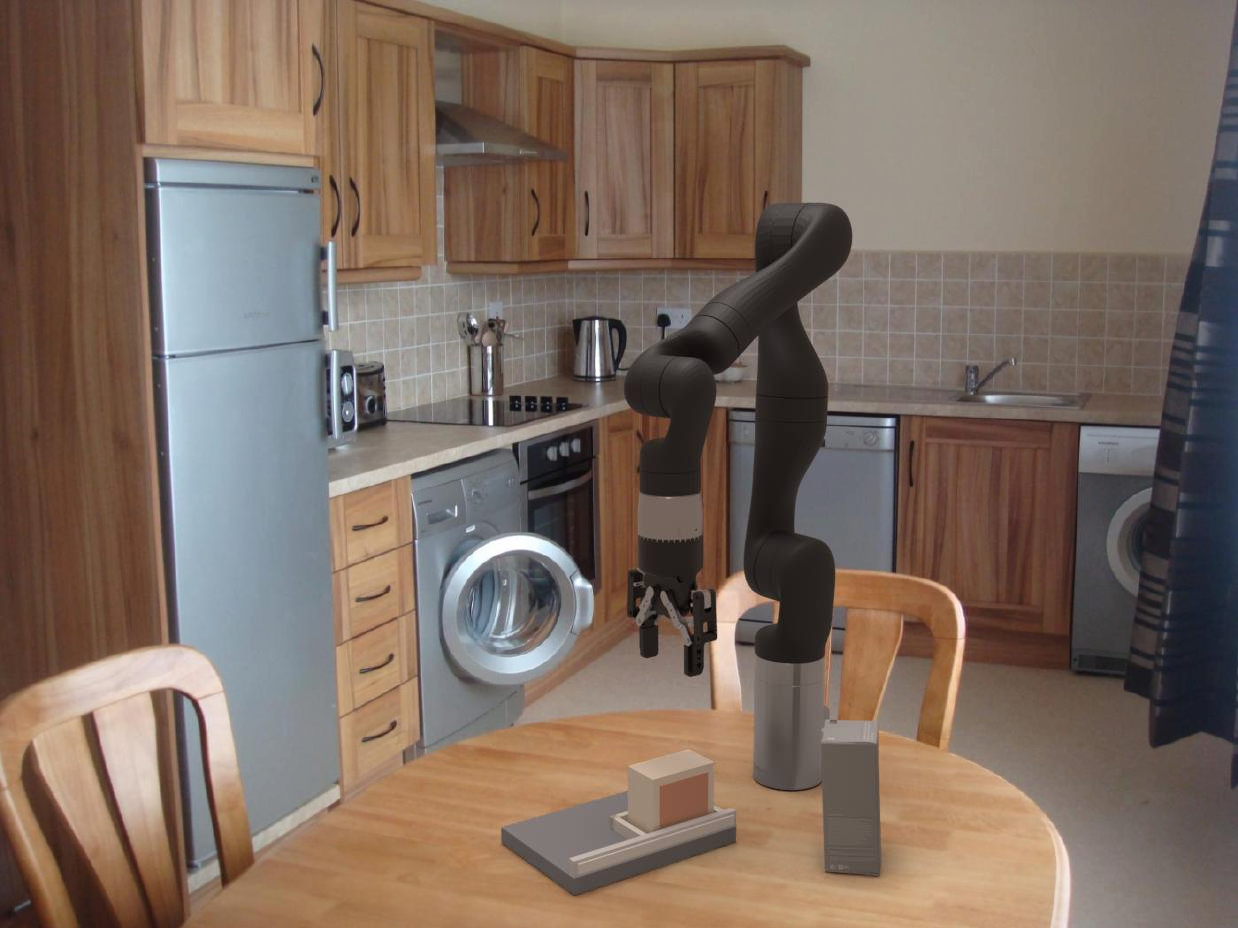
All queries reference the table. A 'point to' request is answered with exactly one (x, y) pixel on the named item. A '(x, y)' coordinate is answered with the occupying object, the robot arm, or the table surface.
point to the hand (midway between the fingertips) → (670, 665)
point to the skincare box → (851, 796)
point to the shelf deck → (610, 842)
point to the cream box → (670, 790)
